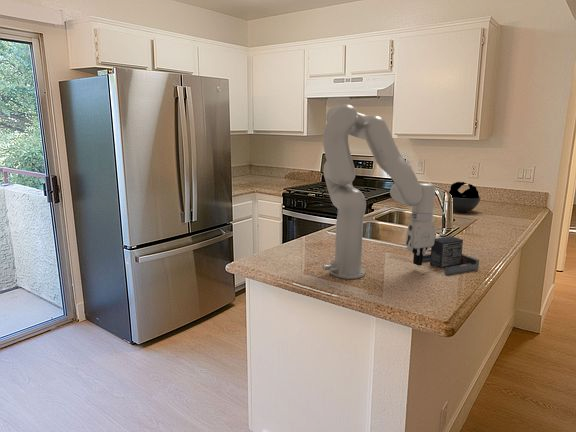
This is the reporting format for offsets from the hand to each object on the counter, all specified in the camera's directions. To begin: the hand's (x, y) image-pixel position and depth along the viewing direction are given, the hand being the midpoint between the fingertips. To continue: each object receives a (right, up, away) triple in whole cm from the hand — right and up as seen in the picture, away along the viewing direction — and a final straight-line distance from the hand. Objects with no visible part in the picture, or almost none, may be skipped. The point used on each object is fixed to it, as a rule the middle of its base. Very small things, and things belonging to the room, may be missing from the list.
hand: (417, 264), depth 159 cm
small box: (+13, -1, +7) cm, 15 cm away
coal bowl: (+61, +21, +109) cm, 127 cm away
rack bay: (+13, -1, +6) cm, 14 cm away
